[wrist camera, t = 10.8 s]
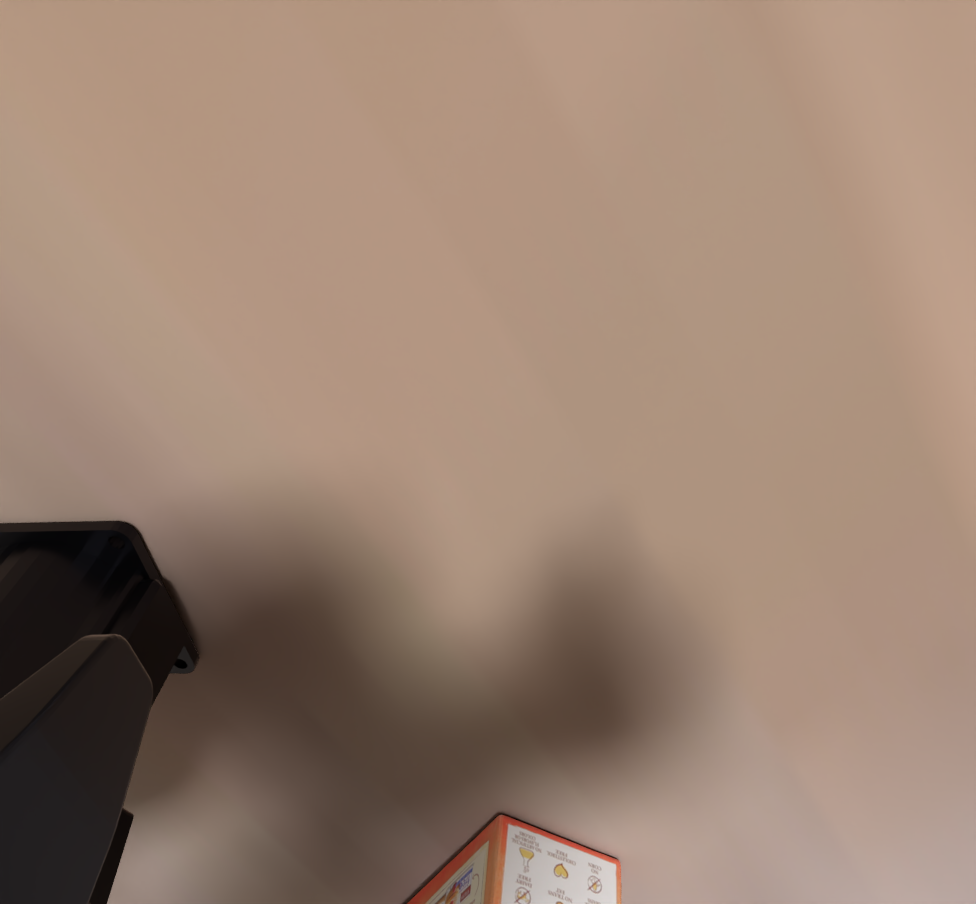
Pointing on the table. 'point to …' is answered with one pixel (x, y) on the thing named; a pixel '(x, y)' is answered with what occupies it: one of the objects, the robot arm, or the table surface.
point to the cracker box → (524, 870)
